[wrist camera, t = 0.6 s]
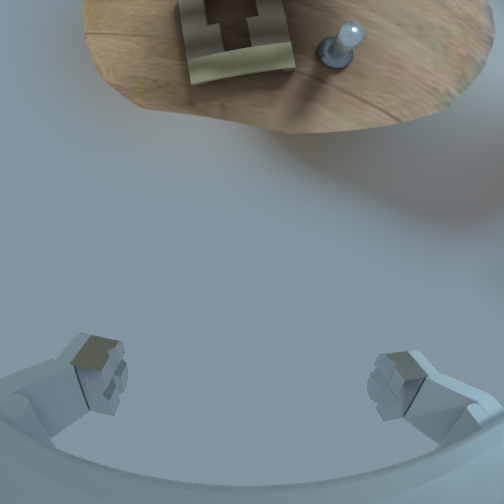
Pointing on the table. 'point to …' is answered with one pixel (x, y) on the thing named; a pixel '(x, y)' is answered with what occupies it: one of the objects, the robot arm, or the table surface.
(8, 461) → the robot arm
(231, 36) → the table surface
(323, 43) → the footed peg
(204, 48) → the keyhole plate
